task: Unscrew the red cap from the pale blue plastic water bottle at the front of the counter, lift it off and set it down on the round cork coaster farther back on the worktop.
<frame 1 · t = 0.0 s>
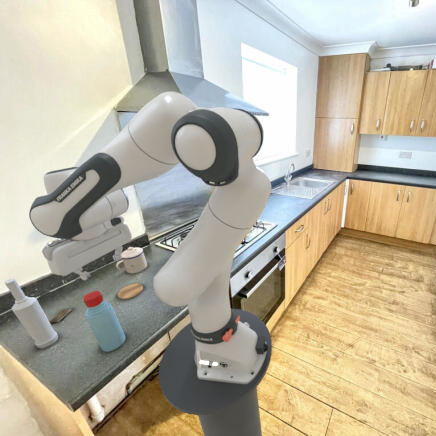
hand: (103, 268, 69), 26 cm above the worktop, tool pointing down, fingers open, 8 cm apart
water bottle: (113, 342, 76), on the worktop
coaster: (130, 291, 97), on the worktop
teacup with lid: (134, 270, 111), on the worktop
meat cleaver: (53, 321, 83), on the worktop
cap: (92, 296, 68), point 19 cm above the worktop, screwed on, not yet turned
bottle: (48, 342, 76), on the worktop
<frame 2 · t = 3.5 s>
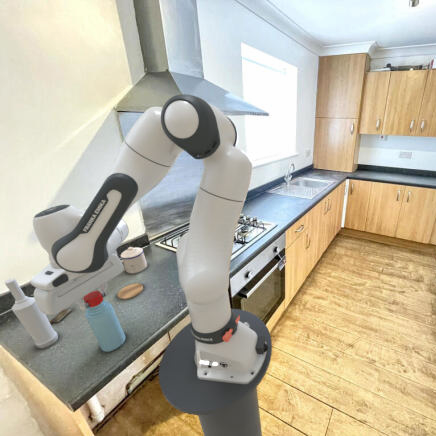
hand: (94, 302, 69), 17 cm above the worktop, tool pointing down, fingers closed on cap, 4 cm apart
cap: (92, 296, 68), point 19 cm above the worktop, screwed on, not yet turned, touching gripper
everything else where it was.
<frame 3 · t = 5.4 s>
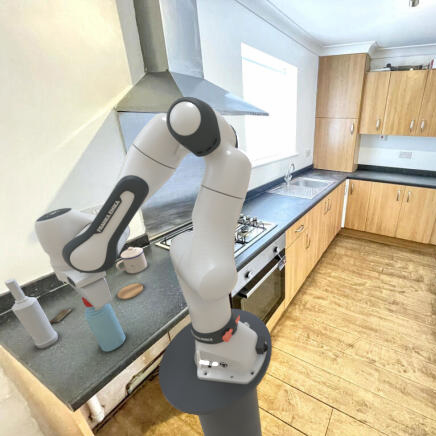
hand: (94, 304, 69), 16 cm above the worktop, tool pointing down, fingers closed on cap, 4 cm apart
water bottle: (113, 342, 76), on the worktop, touching gripper
cap: (91, 296, 68), point 20 cm above the worktop, turned 75° so far, risen 0.1 cm, still on its thread, touching gripper
everything else where it was.
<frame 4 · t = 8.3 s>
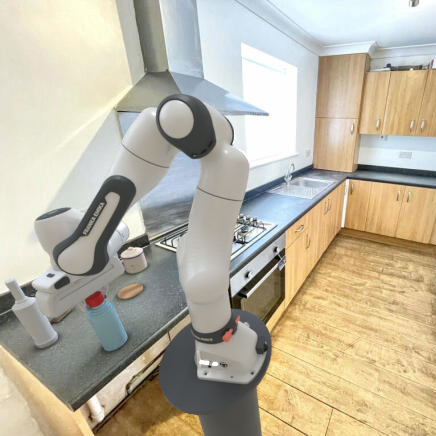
hand: (95, 304, 69), 17 cm above the worktop, tool pointing down, fingers closed on cap, 4 cm apart
water bottle: (116, 342, 76), on the worktop
cap: (93, 296, 67), point 20 cm above the worktop, turned 74° so far, risen 0.1 cm, still on its thread, touching gripper
everything else where it was.
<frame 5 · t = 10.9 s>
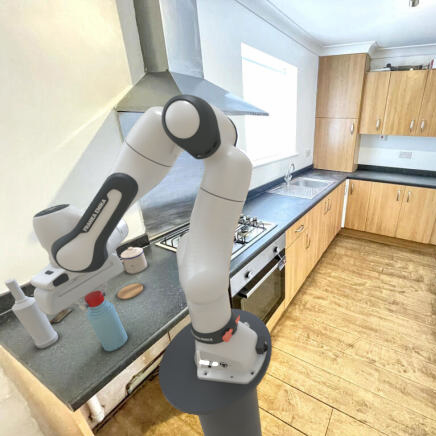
hand: (94, 301, 68), 17 cm above the worktop, tool pointing down, fingers closed on cap, 4 cm apart
cap: (93, 296, 67), point 20 cm above the worktop, turned 148° so far, risen 0.2 cm, still on its thread, touching gripper
everything else where it was.
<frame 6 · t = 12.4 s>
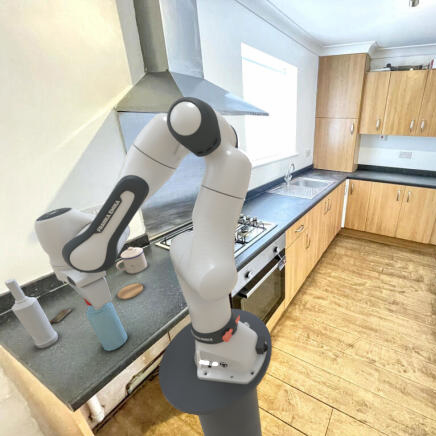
hand: (94, 304, 69), 16 cm above the worktop, tool pointing down, fingers closed on cap, 4 cm apart
water bottle: (115, 341, 76), on the worktop, touching gripper
cap: (92, 294, 68), point 20 cm above the worktop, turned 222° so far, risen 0.2 cm, still on its thread, touching gripper
everything else where it was.
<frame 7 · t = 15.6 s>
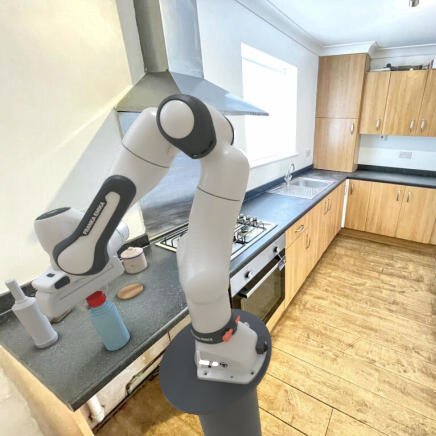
hand: (95, 303, 69), 17 cm above the worktop, tool pointing down, fingers closed on cap, 3 cm apart
water bottle: (118, 341, 76), on the worktop
cap: (94, 296, 67), point 20 cm above the worktop, turned 222° so far, risen 0.2 cm, still on its thread, touching gripper
everything else where it was.
when the fingers open (1 cm above the worktop, at t = 30.0 s): cap stays where it is, resting on coaster.
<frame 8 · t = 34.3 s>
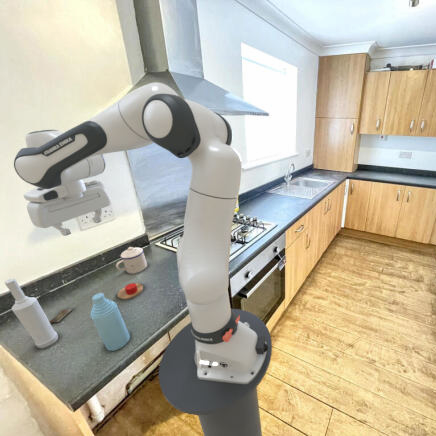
hand: (83, 228, 76), 34 cm above the worktop, tool pointing down, fingers open, 8 cm apart
cap: (130, 287, 96), point 3 cm above the worktop, off its thread, touching coaster
everything else where it was.
at the end: cap came off its thread; cap inside the target area on the coaster (1.2 cm from its centre), point 2.9 cm above the coaster's base; the gripper is holding nothing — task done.
